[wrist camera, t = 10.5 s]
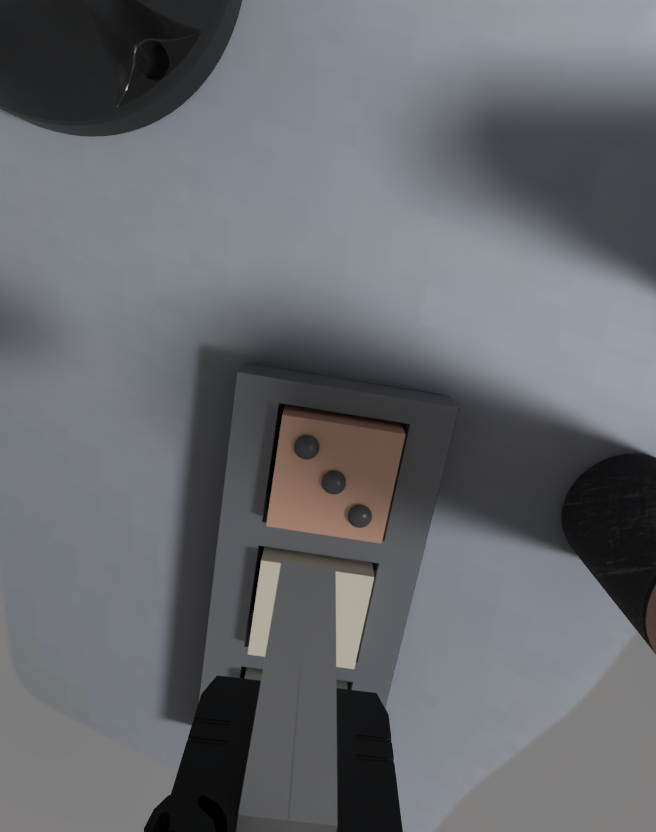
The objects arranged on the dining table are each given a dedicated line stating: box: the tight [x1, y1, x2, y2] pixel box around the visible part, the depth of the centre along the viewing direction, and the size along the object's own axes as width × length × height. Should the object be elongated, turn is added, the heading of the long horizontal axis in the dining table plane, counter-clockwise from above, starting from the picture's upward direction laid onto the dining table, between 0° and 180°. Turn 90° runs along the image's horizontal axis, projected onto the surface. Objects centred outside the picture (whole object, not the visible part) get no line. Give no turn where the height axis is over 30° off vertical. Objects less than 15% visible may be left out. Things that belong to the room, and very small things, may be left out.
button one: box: [248, 546, 374, 669], centre depth 28 cm, size 6×6×3 cm
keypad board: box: [199, 363, 459, 707], centre depth 29 cm, size 25×11×2 cm, turn 171°
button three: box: [266, 404, 406, 544], centre depth 26 cm, size 6×6×3 cm
